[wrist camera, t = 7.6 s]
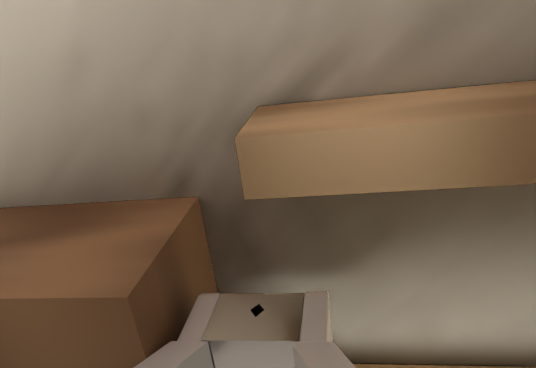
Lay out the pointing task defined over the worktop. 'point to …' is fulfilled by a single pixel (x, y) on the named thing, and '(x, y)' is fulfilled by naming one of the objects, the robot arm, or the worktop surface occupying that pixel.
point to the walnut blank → (99, 281)
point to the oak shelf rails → (392, 146)
